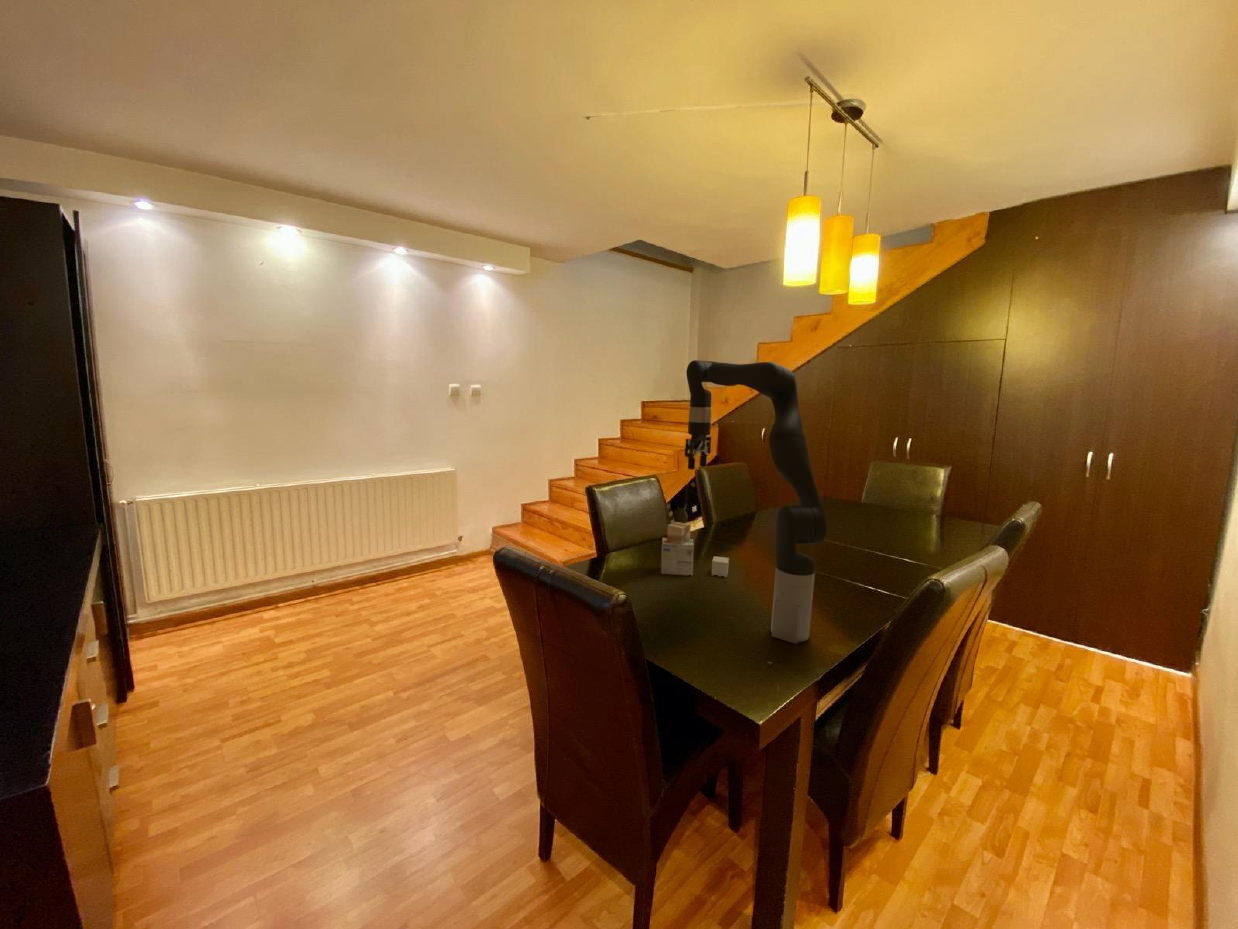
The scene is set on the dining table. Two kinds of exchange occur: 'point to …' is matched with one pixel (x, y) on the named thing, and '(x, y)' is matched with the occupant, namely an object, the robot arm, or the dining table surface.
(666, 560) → the light bulb box
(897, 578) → the dining table surface
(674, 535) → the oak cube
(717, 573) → the grey block
